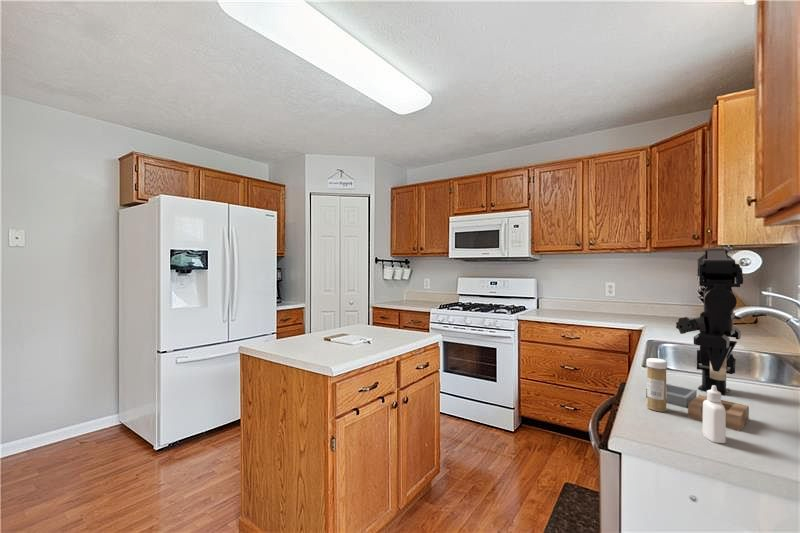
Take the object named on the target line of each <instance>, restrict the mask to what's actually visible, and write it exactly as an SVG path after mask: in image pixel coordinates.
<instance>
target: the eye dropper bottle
mask: <svg viewBox="0 0 800 533" xmlns="http://www.w3.org/2000/svg"><path fill="white" fill-rule="evenodd" d="M706 396H707V400H704V401H703V421H702V435H703V436H704V438H706V439H707V440H709V441H711V442H713V443H716V444H726V432H727V431H726V430H727V428H726V411H725V407H724V406H723V404H722V403H721V400H722V394H721V393H720V392H719V391H717V388H716V386H715V385H712V388H711V390H707V391H706Z"/></svg>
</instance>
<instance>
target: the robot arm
mask: <svg viewBox="0 0 800 533" xmlns="http://www.w3.org/2000/svg"><path fill="white" fill-rule="evenodd" d="M697 277H698V278H699V281H698V282H699V287H703V288H704V290H703V311H701V312H700V314H699V317H692V318H689V317H687V316H685V317H679V318H678V320H677V321H676V322H675V328H676V329H677V330H678V331H679V333H680V335H684V334H687V333H689V332H695V331H699V333H697V334H695V335H694V336H693V345H695V346H699V349H697V350H696V370H698V371H700V370H701V385H699V386H698V387H697V390H701V391H704V392H707V390H711V388H712V385H715V386H716V388H717V391H719V392H720V393H721V395H724V396H725V395H727V394H728V393H729V392H730V391H731V389H730V388H727V379H726V380H725V381H722V380H715V379H711V378H710V362H711V365H712V368H713V371H717V372H719V370H720V369H721V367H722V365H723V363H724V361H725V359H726V374H729V375H733V374H736V364H737V363H736V358H735V357H734V354H733V350H734V349H735V347H736V346H737V344H738V341H734V340H731V338H735V340H740V339H741V337H742V331H741V330H740V329H739V328H738V327H735V326H734V318H735V317H736V312H734V309H735V308H736V307H737V303H738V302H737V297H736V295H735V294H734V290H733V288H741V285H743V284H744V275H743V268H742V267H741V264H739V263H736V260H735V259H734V258H733V257H731V256H730V255H729V254H728V249H725V248H708V249H705V250H704V254H703V255H702V256H700V257H699V258H698V259H697Z"/></svg>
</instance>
